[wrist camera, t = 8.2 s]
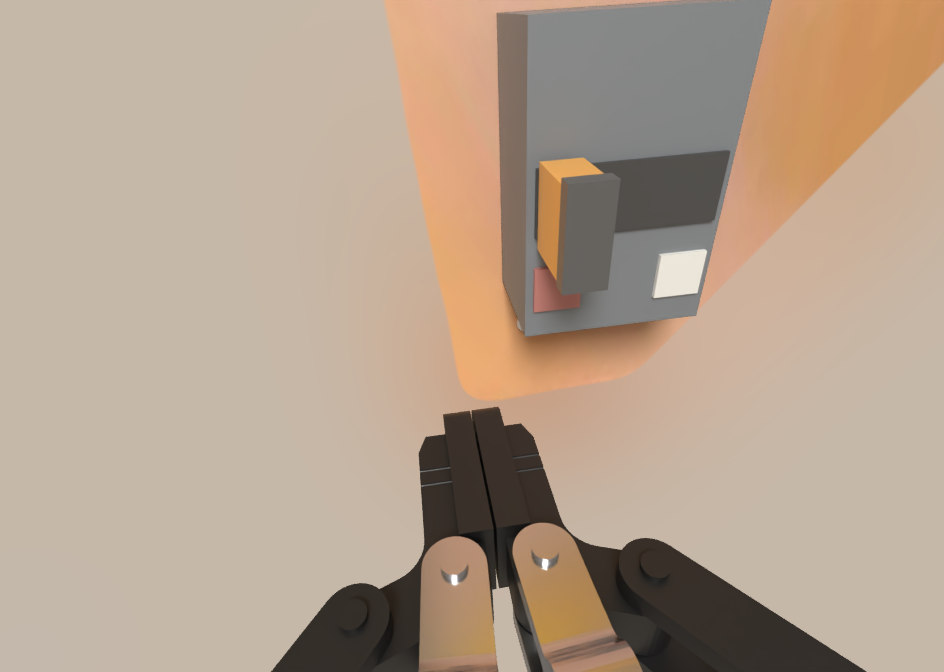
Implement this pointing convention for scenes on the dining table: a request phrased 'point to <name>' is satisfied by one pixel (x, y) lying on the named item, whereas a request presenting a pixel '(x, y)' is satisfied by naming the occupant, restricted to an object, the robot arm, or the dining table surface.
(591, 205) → the breaker handle
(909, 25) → the dining table surface
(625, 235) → the breaker box
